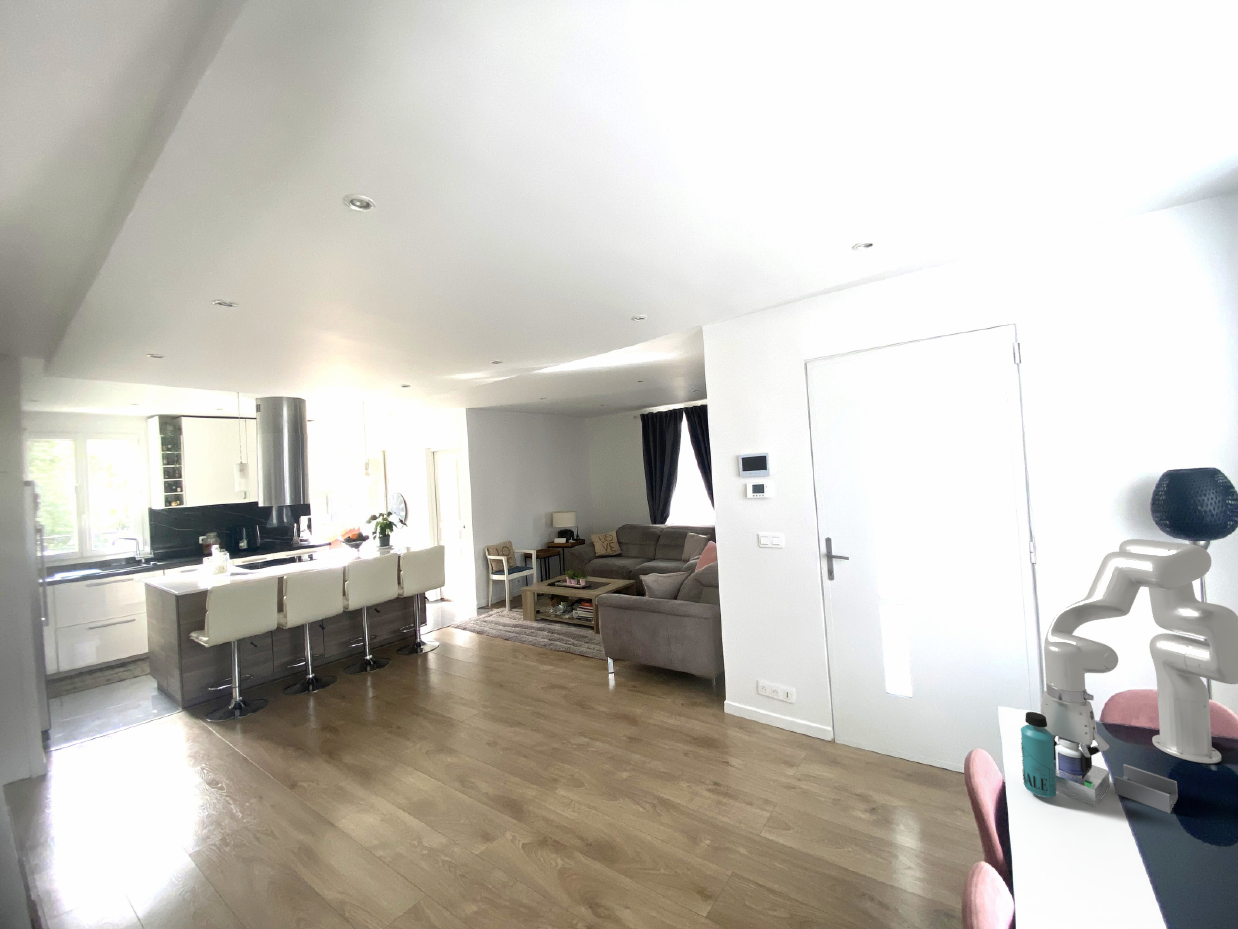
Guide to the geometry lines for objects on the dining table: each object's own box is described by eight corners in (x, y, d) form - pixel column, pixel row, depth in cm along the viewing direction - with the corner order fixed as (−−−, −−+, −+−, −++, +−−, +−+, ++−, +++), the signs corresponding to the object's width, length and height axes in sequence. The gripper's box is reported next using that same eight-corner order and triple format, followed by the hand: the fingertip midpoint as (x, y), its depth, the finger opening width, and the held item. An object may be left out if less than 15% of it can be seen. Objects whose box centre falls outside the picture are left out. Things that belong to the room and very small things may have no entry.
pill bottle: (1090, 785, 124) (1088, 745, 124) (1064, 783, 125) (1063, 743, 125) (1075, 773, 129) (1073, 734, 129) (1051, 771, 130) (1049, 732, 130)
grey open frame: (1124, 779, 128) (1123, 764, 128) (1177, 798, 120) (1176, 781, 120) (1115, 793, 123) (1114, 777, 123) (1170, 813, 115) (1168, 796, 115)
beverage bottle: (1052, 790, 125) (1047, 710, 125) (1062, 807, 119) (1057, 723, 119) (1019, 785, 128) (1015, 706, 128) (1028, 801, 122) (1023, 718, 122)
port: (1049, 764, 135) (1048, 747, 135) (1110, 786, 125) (1108, 768, 125) (1032, 782, 129) (1031, 764, 129) (1095, 806, 119) (1094, 787, 119)
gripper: (1116, 700, 122) (1120, 775, 122) (1029, 677, 136) (1033, 744, 136) (1107, 709, 118) (1112, 787, 118) (1018, 685, 132) (1022, 754, 132)
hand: (1069, 763), depth 127 cm, fingers closed on pill bottle, 5 cm apart
